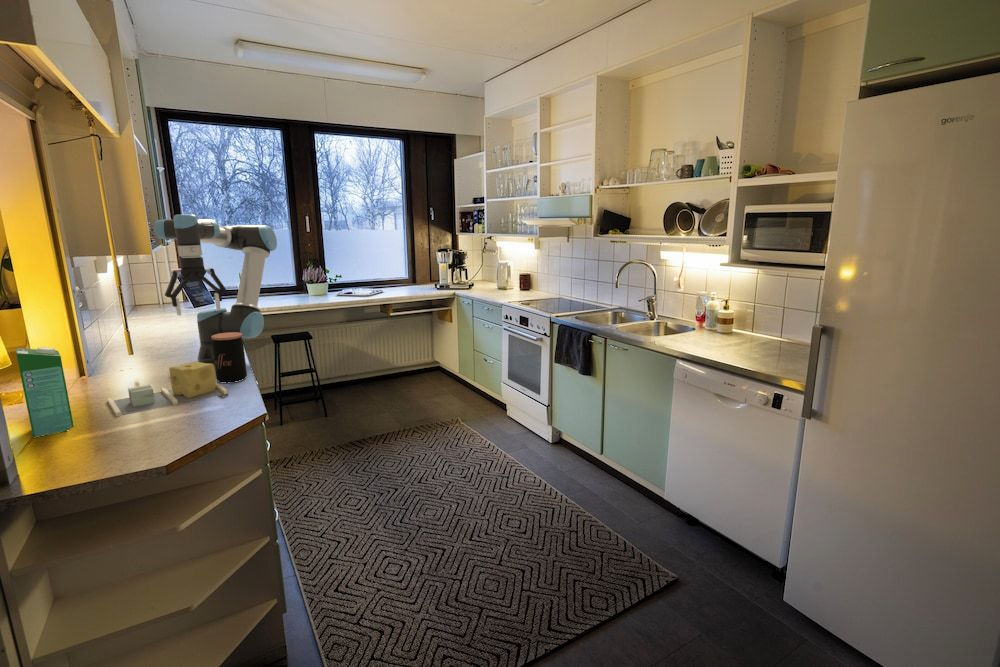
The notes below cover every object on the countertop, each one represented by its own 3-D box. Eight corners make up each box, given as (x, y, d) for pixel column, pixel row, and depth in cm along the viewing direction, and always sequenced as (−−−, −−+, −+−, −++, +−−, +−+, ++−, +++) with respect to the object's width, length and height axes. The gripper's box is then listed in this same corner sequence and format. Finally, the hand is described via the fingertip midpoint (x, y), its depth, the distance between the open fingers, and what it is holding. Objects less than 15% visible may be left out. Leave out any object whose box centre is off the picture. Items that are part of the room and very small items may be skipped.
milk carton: (74, 429, 150) (59, 347, 145) (33, 438, 144) (16, 353, 139) (71, 421, 156) (56, 342, 151) (31, 429, 150) (15, 347, 145)
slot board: (108, 404, 172) (107, 398, 171) (212, 384, 193) (211, 378, 193) (117, 419, 158) (116, 412, 158) (228, 396, 180) (227, 390, 179)
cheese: (189, 398, 174) (185, 370, 172) (170, 394, 179) (166, 366, 177) (218, 390, 183) (214, 363, 181) (199, 386, 188) (196, 360, 186)
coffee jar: (210, 381, 197) (205, 336, 194) (235, 374, 206) (230, 331, 203) (228, 385, 192) (222, 338, 189) (253, 377, 202) (248, 333, 198)
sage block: (130, 402, 170) (127, 388, 169) (151, 398, 174) (149, 384, 173) (133, 407, 166) (131, 392, 165) (155, 402, 170) (152, 388, 169)
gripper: (154, 259, 179) (164, 318, 184) (230, 255, 196) (237, 309, 201) (149, 258, 184) (159, 315, 189) (223, 253, 201) (230, 306, 206)
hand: (199, 312), depth 195 cm, fingers open, 13 cm apart
